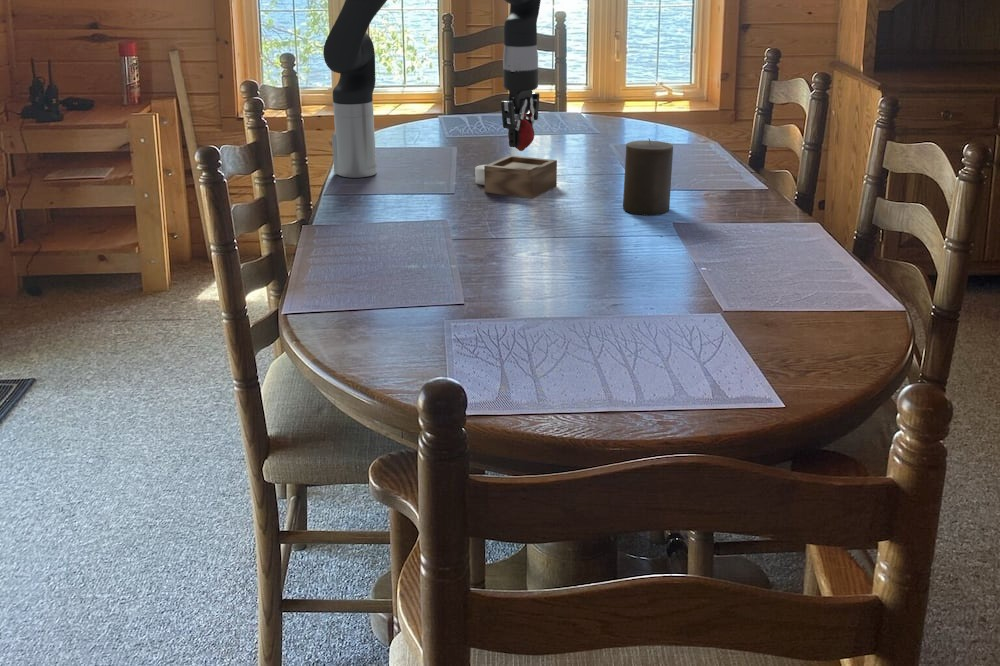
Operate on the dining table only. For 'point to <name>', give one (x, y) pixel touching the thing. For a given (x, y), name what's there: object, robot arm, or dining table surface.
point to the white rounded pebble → (480, 174)
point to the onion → (525, 134)
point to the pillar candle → (647, 177)
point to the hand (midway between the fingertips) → (520, 143)
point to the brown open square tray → (520, 176)
